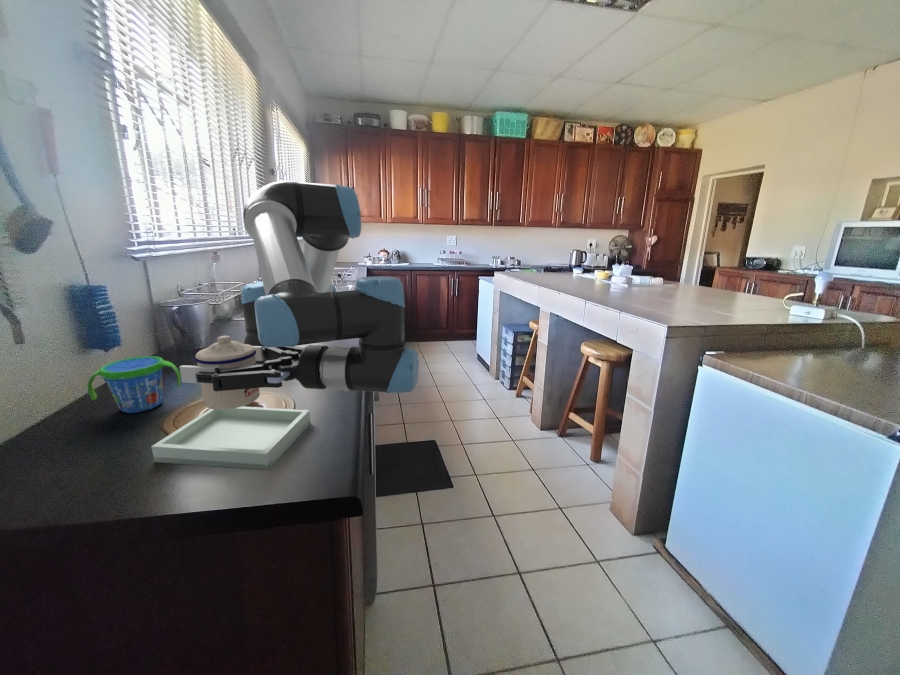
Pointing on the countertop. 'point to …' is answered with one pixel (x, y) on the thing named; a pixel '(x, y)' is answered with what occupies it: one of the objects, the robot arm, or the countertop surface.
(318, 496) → the countertop surface
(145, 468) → the countertop surface
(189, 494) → the countertop surface
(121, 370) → the snack cup
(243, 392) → the teacup with lid
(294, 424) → the sage tray
